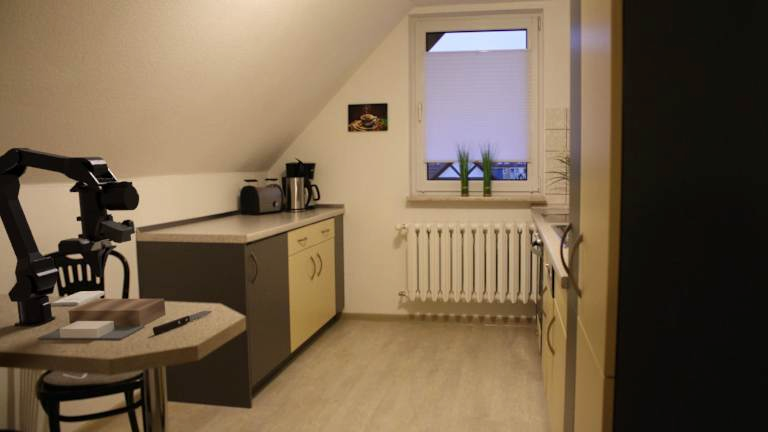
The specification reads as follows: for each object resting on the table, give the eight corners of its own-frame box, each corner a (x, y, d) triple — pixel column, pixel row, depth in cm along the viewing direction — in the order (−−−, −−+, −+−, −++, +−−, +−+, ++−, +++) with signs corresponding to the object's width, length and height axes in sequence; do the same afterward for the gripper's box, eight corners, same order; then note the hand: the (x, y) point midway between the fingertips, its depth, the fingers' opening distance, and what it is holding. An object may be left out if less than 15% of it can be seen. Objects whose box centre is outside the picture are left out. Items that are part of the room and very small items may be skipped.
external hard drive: (105, 296, 179) (78, 307, 167) (79, 296, 180) (50, 308, 168) (104, 290, 179) (77, 301, 167) (78, 291, 180) (50, 302, 168)
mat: (38, 339, 136) (38, 337, 136) (66, 327, 145) (66, 325, 145) (121, 339, 132) (120, 337, 132) (144, 327, 141) (144, 325, 141)
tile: (77, 321, 140) (78, 329, 141) (59, 328, 135) (60, 337, 135) (113, 321, 139) (114, 329, 139) (96, 328, 133) (97, 337, 133)
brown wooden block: (70, 327, 144) (68, 310, 144) (99, 314, 155) (98, 299, 155) (140, 327, 141) (138, 310, 141) (165, 314, 152) (164, 298, 152)
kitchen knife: (156, 336, 134) (155, 327, 134) (152, 336, 135) (151, 327, 134) (214, 314, 150) (213, 306, 150) (211, 314, 151) (210, 306, 150)
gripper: (97, 215, 133) (104, 286, 135) (148, 206, 151) (152, 269, 153) (53, 215, 136) (59, 285, 137) (107, 207, 154) (113, 269, 155)
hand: (99, 277), depth 146 cm, fingers closed
